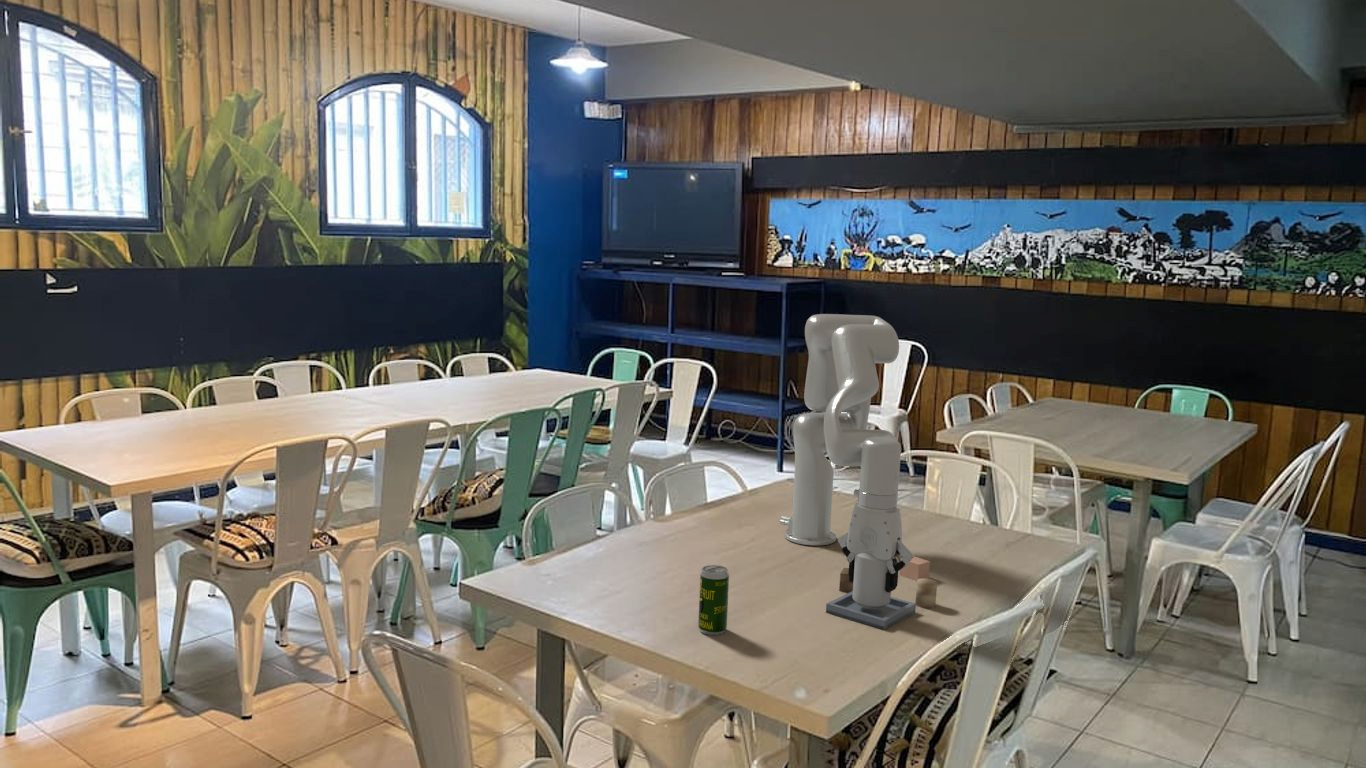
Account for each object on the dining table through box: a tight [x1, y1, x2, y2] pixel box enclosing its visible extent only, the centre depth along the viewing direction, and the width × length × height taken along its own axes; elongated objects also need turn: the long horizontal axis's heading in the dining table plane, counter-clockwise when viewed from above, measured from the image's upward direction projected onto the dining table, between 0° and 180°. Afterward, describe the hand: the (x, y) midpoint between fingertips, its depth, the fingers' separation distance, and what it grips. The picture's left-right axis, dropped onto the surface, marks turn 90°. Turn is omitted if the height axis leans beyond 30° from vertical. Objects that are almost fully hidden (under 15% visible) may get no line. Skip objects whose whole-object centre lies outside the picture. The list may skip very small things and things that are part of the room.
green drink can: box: [697, 564, 730, 636], centre depth 193 cm, size 5×5×12 cm
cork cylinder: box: [915, 578, 938, 609], centre depth 212 cm, size 4×4×5 cm
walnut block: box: [838, 567, 853, 593], centre depth 219 cm, size 4×4×4 cm
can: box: [852, 549, 893, 609], centre depth 206 cm, size 8×8×12 cm
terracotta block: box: [898, 555, 931, 582], centre depth 229 cm, size 5×4×4 cm
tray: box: [825, 591, 917, 631], centre depth 206 cm, size 13×13×2 cm
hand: (872, 584), depth 206 cm, fingers closed on can, 7 cm apart
